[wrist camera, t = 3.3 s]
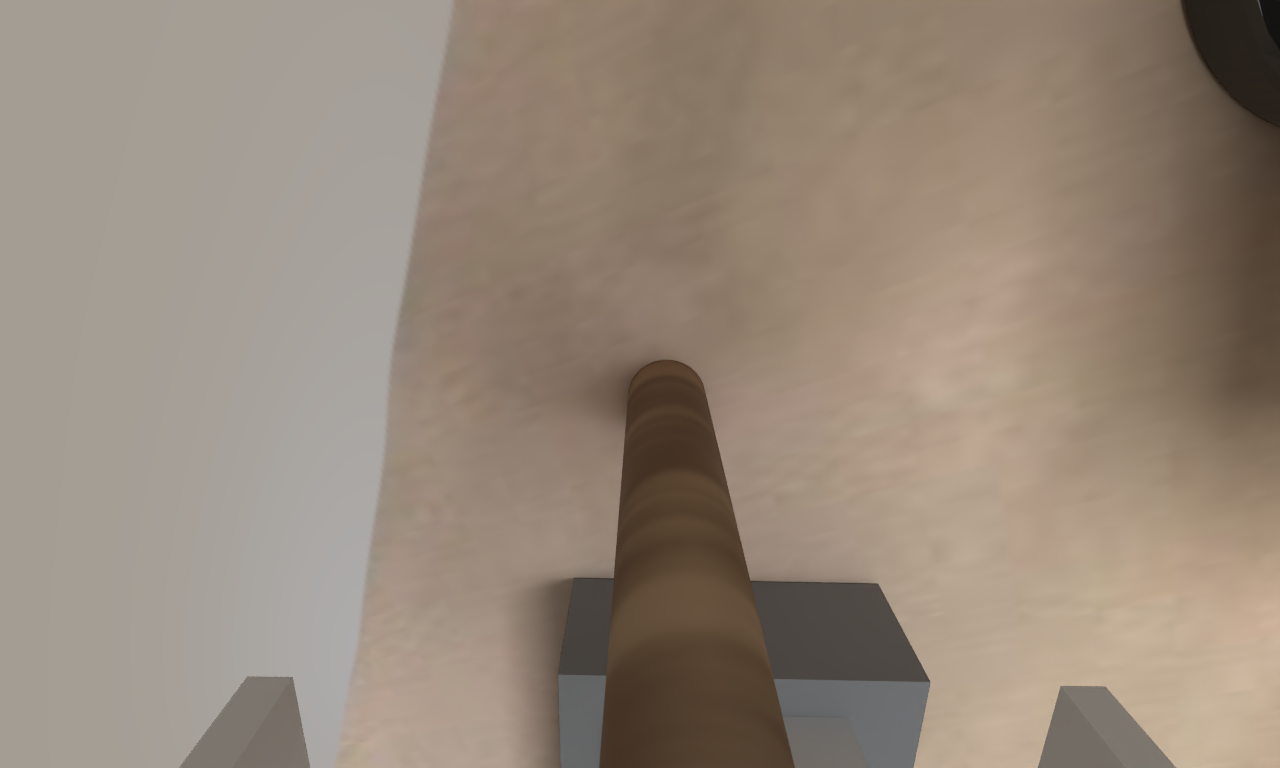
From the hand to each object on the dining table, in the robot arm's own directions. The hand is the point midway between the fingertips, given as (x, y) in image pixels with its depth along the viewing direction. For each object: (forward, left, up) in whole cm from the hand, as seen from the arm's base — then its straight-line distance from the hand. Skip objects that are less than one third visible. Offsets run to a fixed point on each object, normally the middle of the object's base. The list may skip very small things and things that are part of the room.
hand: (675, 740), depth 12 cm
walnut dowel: (0, 0, -17) cm, 17 cm away
